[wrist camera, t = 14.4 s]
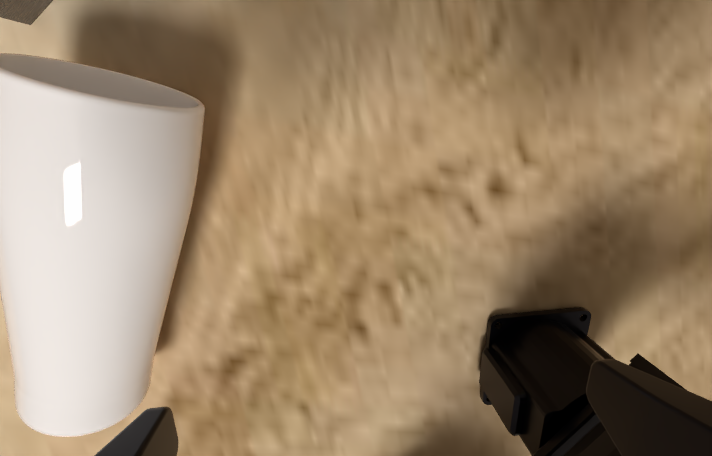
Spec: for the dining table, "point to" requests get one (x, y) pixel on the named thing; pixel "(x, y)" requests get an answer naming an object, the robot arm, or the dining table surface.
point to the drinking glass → (89, 233)
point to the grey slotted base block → (22, 9)
